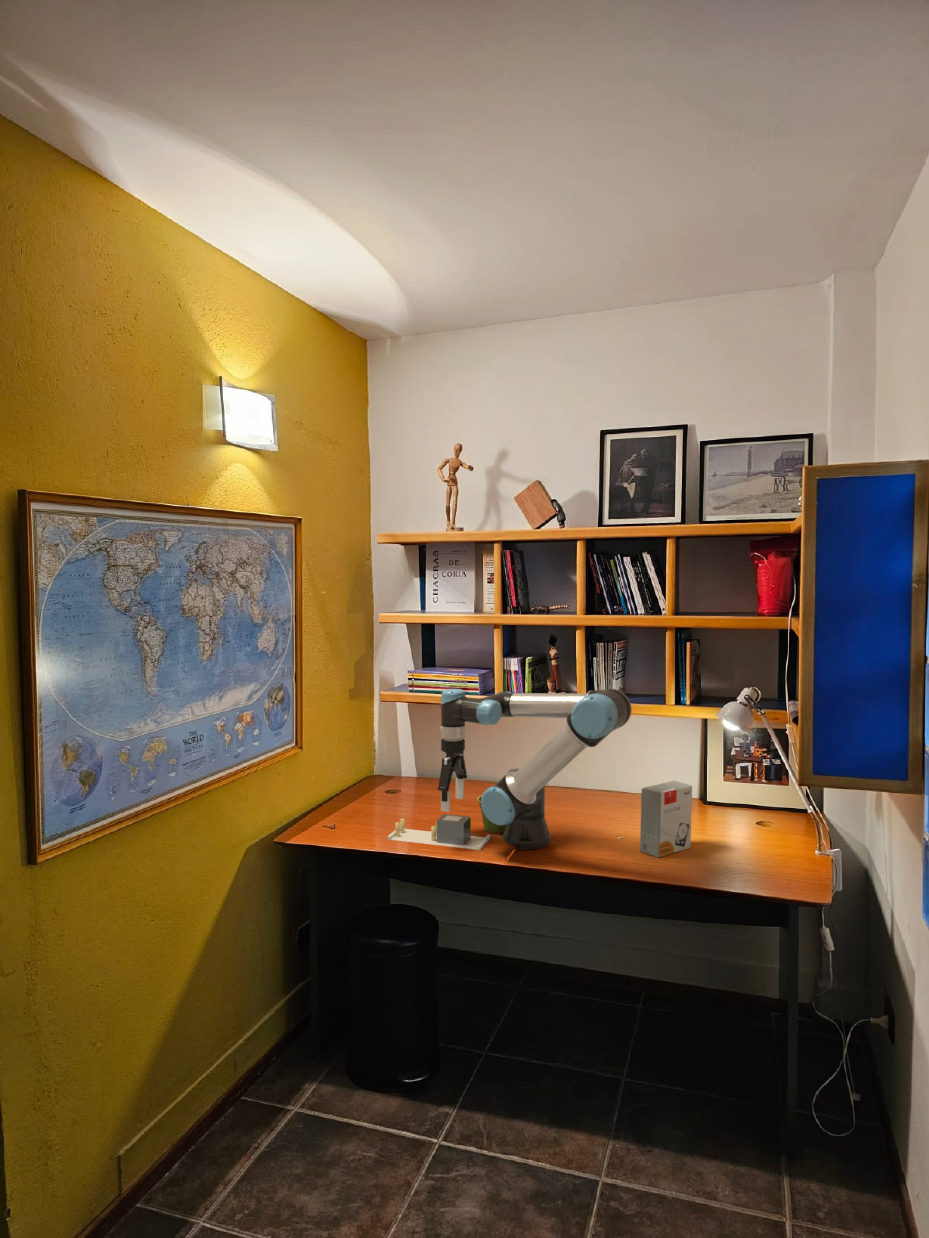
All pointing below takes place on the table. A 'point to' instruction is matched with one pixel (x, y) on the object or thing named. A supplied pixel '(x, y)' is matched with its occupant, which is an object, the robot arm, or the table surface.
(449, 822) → the block
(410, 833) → the tray
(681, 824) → the hard drive box
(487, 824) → the plant pot
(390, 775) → the table surface
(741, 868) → the table surface
